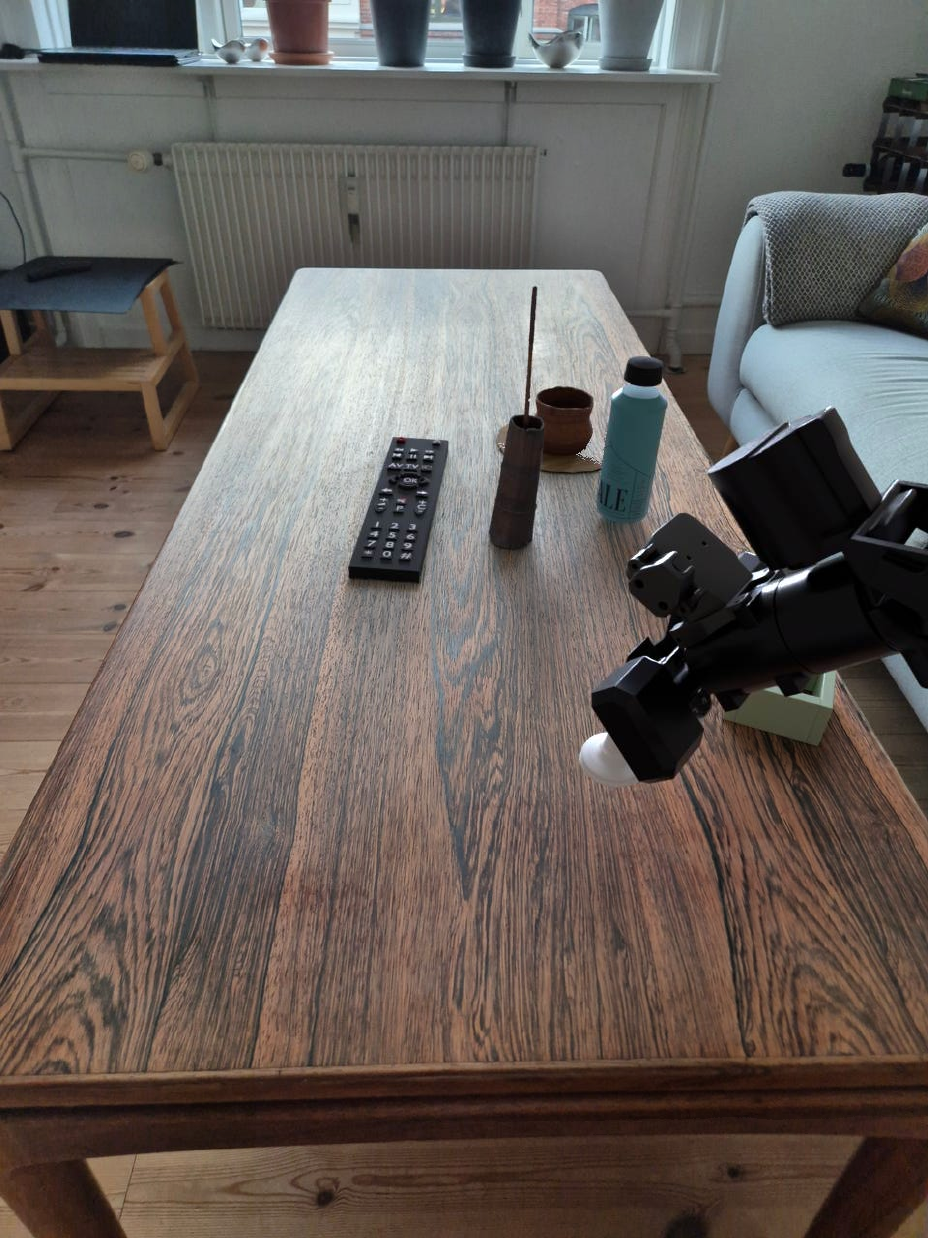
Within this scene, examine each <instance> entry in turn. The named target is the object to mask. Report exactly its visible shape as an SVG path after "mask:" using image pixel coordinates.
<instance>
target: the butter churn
mask: <svg viewBox="0 0 928 1238" xmlns="http://www.w3.org/2000/svg"><path fill="white" fill-rule="evenodd" d="M531 289H532V290H531V299H530V311H529V316H530V317H529V332H528V346H527V348H528V349H527V365H526V368H527V369H526V381H525V394H524V408H523V409H524V410H523V414H514V415H512V416H511V417H510V418H509V422H508V424H509V426H508V431H507V438H506V443H505V449H504V453H502V459H501V463H500V465H499V466H500V471H499V476H498V481H497V487H496V492H495V493H496V494H495V497H494V501H493V507H492V513H491V519H490V524H489V530H488V536H489V540H490V542H491V543H492V544H494V545H495V546H497V547H500V548H502V549H509V550H518V549H519V548H521V547H523V546H526V545H528V544H529V543H530V542H532V541H533V537H534V527H535V526H534V525H535V518H536V510H537V508H538V504H537V503H538V502H537V499H538V498H537V497H538V490H539V484H540V477H541V471H542V470H541V461H542V453H543V444H544V433H545V427H544V426H545V424H544V421H543V418H541V417H537V416H534V414H533V415H532V414H531V415H530V406H531V405H530V404H531V402H530V399H531V385H532V384H531V383H532V370H533V369H532V368H533V367H532V366H533V351H534V342H535V329H536V328H535V327H536V317H537V315H536V313H537V312H536V311H537V299H538V298H537V297H538V286H536V285H534V286H532V288H531Z"/></svg>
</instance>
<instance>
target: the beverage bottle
mask: <svg viewBox="0 0 928 1238" xmlns="http://www.w3.org/2000/svg"><path fill="white" fill-rule="evenodd" d="M663 374H664V363H663V361H662V360H660V359H658V358H656V357H652V356H648V355H647V356H646V355H636V356H631V357H630V358H628V359H627V361H626V365H625V370H624V373H623V380H624V381H625V382H626V383H628V384H625V385H624V386H622V387H621V388H619V389H617V391H615V392H614V393H613V394H612V395H611V397H610V406H609V407H610V408H609V414H608V422H606V426H605V429H606V430H607V431H606V430H605V431H606V432H607V434H605V435H606V438H604V440H605V439H606V440H605V441H604V442H605V447H604V449H603V450H604V455H603V460H602V461H603V462H602V461H601V462H602V463H601V465H602V466H600V467H602V468H601V469H600V472H599V474H598V478H599V479H598V482H597V485H598V487H597V488H596V493H597V494H596V496H595V497H596V500H595V503H596V504H595V506H596V509H597V513H598V514H599V515H600V516H601V517H603V518H604V519H606V520H608V521H610V522H613V523H619V524H634V523H638V522H641V521H643V520H644V519H645V518H646V517H647V515H648V512H649V509H650V507H651V506H650V504H651V502H652V496H653V493H652V492H653V489H654V486H655V485H654V482H655V480H656V479H655V476H656V474H657V472H656V471H657V469H658V467H657V462H658V454H659V450H660V445H661V440H662V433H663V428H664V423H665V417H666V412H667V409H668V405H669V404H668V400H667V398H666V397H665V395H663V393H662V392H661V391H660V390H659V389H658V388H656V387H657V386H660V385H661V384H662V382H663V378H664V375H663Z"/></svg>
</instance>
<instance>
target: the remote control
mask: <svg viewBox="0 0 928 1238" xmlns="http://www.w3.org/2000/svg"><path fill="white" fill-rule="evenodd" d="M447 454H448V455H449V440H446V439H429V438H416V437H404V436H392V439H391V442H390V444H389V447H388V450H387V453H386V456H385V458H384V462H383V464H382V467H381V469H380V470H381V471H380V472H379V476H378V479H377V482H376V485H375V488H374V490H373V493H372V497H371V500H370V502H369V505H368V507H367V511H366V513H365V517H364V519H363V522H362V525H361V528H360V530H359V534H358V537H357V540H356V543H355V544H354V548H353V551H352V554H351V557H350V560H349V562H348V566H347V571H348V579H354V580H368V581H380V582H381V581H382V582H393V583H394V582H395V583H408V584H420V581H421V578H422V574H423V568H424V563H425V559H426V555H427V551H428V547H429V541H430V537H431V532H432V528H433V524H434V519H435V518H434V517H435V514H436V509H437V506H438V500H439V497H440V491H441V486H442V481H443V478H444V472H445V469H446V464H447V460H448V455H447ZM446 459H447V460H446ZM442 477H443V478H442Z"/></svg>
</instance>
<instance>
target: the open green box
mask: <svg viewBox="0 0 928 1238" xmlns="http://www.w3.org/2000/svg"><path fill="white" fill-rule="evenodd" d="M837 672H838V670H835V671H832V672H828V673H824V674H820V675H816V676H813V677H812V678H811V680H810V681H809V682H808V684H807V685H806V687H805V688H804V690H805V691H809V692H811V695H810V694H807V693H803V692H801V693H800V694H796V695H792V696H788V697H784V695H783V693H782V692H781V690H780V688H779V687H778V686H775V687H771V688H767V689H763V690H760V691H756V692H752V693H751V694H750V695H749V697H748V698H747V699H746V701H745V702H744V703H743V704H742V706H741V707H740V708H739V709H736V710H732V711H728V712H725V711H724V710H723V715H722V720H725V721H728V722H732V723H735V724H738V725H742V726H745V727H749V728H753V729H756V730H759V731H763V732H766V733H770V734H774V735H777V736H780V737H785V738H788V739H791V740H795V741H798V742H802V743H804V744H805V743H806V744H808V745H812V746H816V747H818V746H819V744H820V742H821V740H822V737H823V736H824V735H823V734H824V732H825V730H826V728H827V725H828V723H829V720H830V717H831V716H832V713H833V711H834V704H835V703H834V702H835V695H836V694H835V693H836V685H837V684H836V682H837Z"/></svg>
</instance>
